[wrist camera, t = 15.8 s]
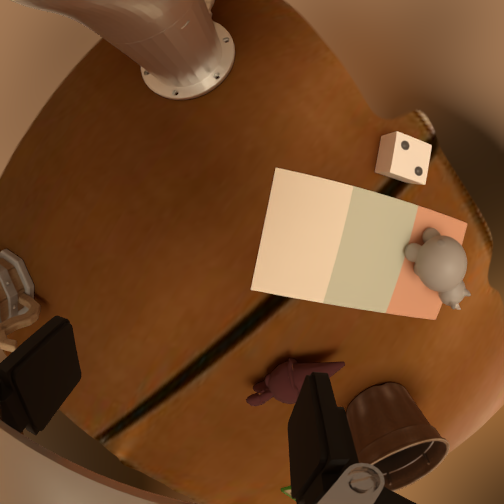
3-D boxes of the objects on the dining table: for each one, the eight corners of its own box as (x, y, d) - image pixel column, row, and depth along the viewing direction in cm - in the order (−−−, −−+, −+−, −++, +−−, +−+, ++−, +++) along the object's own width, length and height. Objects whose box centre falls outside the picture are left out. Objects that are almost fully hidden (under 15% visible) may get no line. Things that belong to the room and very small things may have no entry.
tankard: (-3, 295, 42) (-49, 323, 28) (-3, 241, 39) (-58, 262, 25) (61, 341, 43) (16, 385, 29) (64, 284, 40) (6, 324, 26)
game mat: (275, 167, 34) (275, 167, 34) (466, 223, 34) (467, 223, 34) (250, 289, 38) (250, 289, 38) (434, 319, 39) (435, 319, 38)
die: (381, 135, 32) (397, 131, 27) (413, 147, 32) (432, 145, 27) (374, 172, 34) (390, 172, 29) (406, 182, 34) (425, 184, 29)
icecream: (336, 351, 33) (232, 386, 37) (354, 395, 33) (255, 425, 37) (334, 332, 40) (245, 365, 44) (351, 372, 40) (264, 401, 44)
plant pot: (379, 438, 46) (398, 496, 31) (316, 425, 45) (327, 495, 30) (430, 383, 42) (466, 441, 27) (371, 362, 41) (404, 435, 25)
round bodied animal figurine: (423, 309, 38) (450, 336, 30) (395, 246, 36) (425, 265, 28) (457, 283, 37) (487, 305, 29) (433, 218, 34) (468, 230, 26)
